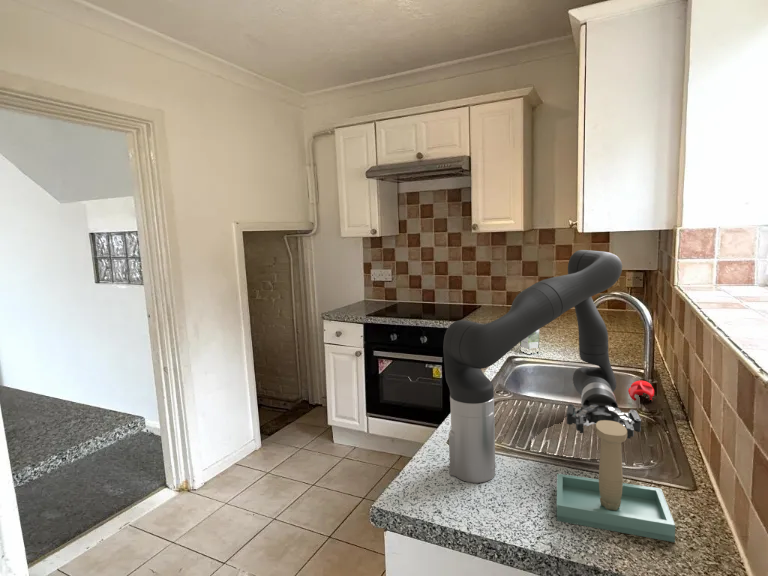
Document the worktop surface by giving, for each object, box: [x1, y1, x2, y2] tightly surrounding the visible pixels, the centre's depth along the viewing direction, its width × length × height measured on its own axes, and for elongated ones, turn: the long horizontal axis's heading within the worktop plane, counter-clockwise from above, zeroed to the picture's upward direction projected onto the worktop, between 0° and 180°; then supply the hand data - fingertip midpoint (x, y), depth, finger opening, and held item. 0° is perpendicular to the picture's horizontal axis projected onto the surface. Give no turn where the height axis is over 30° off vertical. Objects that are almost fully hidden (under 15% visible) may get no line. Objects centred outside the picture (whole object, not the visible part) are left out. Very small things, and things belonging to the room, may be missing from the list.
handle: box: [595, 420, 627, 511], centre depth 80 cm, size 5×6×15 cm
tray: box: [556, 473, 676, 543], centre depth 80 cm, size 18×11×3 cm, turn 68°
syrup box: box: [519, 329, 540, 349], centre depth 187 cm, size 6×6×14 cm
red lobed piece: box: [628, 380, 655, 402], centre depth 131 cm, size 8×6×6 cm
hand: (605, 431), depth 89 cm, fingers open, 8 cm apart
